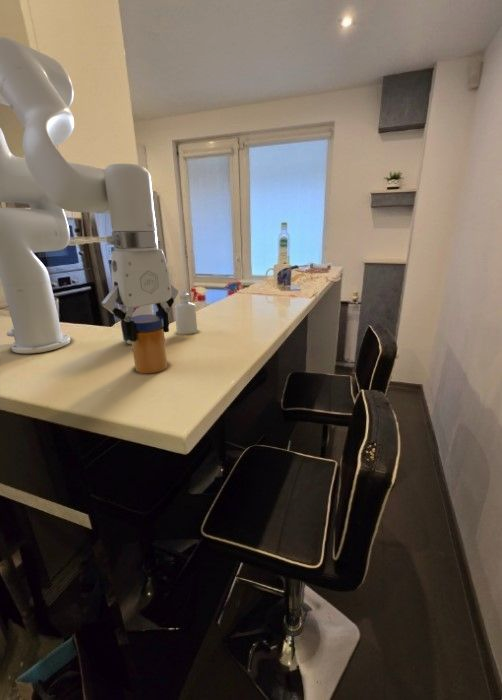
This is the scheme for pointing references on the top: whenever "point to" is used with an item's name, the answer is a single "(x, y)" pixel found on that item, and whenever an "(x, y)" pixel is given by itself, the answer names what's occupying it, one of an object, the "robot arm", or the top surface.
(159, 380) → the top surface
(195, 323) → the eye dropper bottle
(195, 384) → the top surface
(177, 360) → the top surface
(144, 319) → the lid
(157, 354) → the jar
